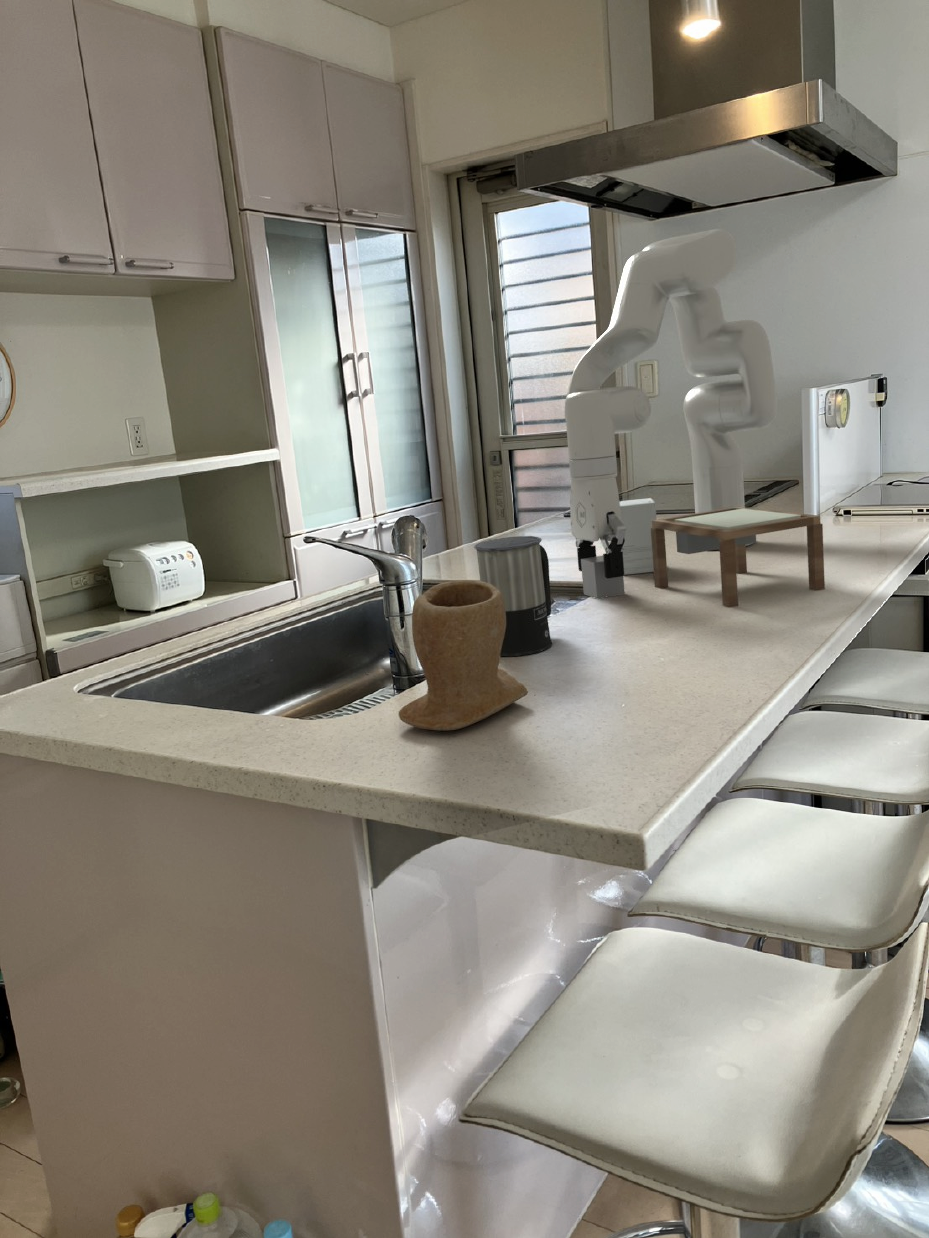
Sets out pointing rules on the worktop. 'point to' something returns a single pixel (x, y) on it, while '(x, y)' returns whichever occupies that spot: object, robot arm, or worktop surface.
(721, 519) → the trapdoor
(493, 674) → the stone cup
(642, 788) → the worktop surface
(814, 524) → the frame
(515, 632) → the milk frother
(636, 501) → the supplement box
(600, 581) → the grey near-cubic block
